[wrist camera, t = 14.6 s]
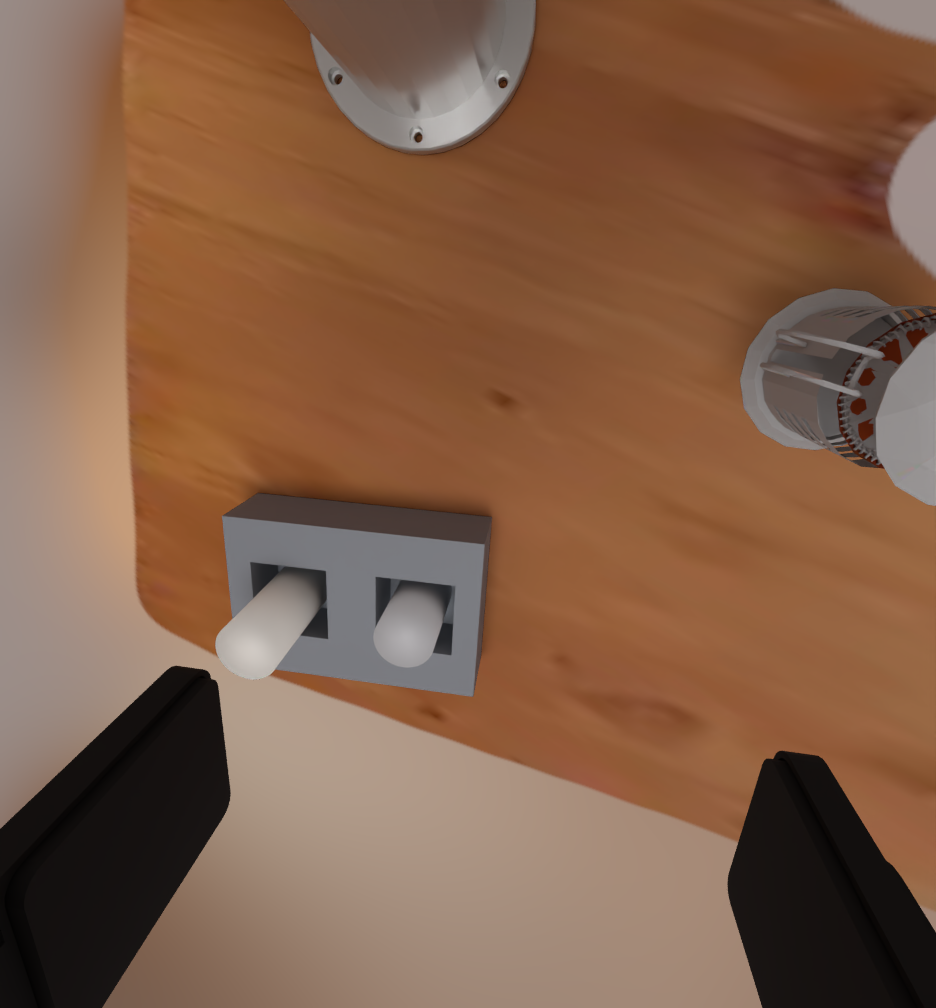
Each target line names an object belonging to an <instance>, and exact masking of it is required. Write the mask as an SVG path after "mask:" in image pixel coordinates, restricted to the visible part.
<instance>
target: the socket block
mask: <svg viewBox="0 0 936 1008" xmlns="http://www.w3.org/2000/svg"><path fill="white" fill-rule="evenodd" d="M222 520H223V530H224V540H225V550H226V559H227V569H228V579H229V589H230V599H231V609H232V619H233V618H234V617H235V616H236V615H237V614H238V613H239V612H240V611H241V610H242V609H243V608H244V607H245V606H246V605H247V604H248V603H249V602H250V601H251V600H252V599H253V598H254V597H255V596H256V595H257V594H258V593H259V592H260V591H261V590H262V589H263V588H264V587H265V586H266V585H267V584H268V583H269V582H270V581H271V580H272V579H273V578H274V577H275V576H276V575H277V574H278V573H279V572H280V571H281V570H282V569H283V568H284V567H285V566H289V567H297V568H306V569H315V570H323V571H326V585H327V600H326V602H325V603H324V604H323V606H322V607H321V608H320V610H319V611H318V612H317V614H316V615H315V616H314V618H313V619H312V620H311V622H310V623H309V624H308V626H307V627H306V628H305V630H304V631H303V632H302V634H301V635H300V636H299V638H298V639H297V640H296V642H295V643H294V644H293V646H292V647H291V648H290V650H289V651H288V652H287V654H286V655H285V656H284V658H283V659H282V660H281V662H280V663H279V664H278V666H277V667H276V669H277V670H284V671H291V672H298V673H306V674H313V675H320V676H327V677H335V678H342V679H349V680H356V681H363V682H371V683H378V684H385V685H392V686H400V687H407V688H414V689H421V690H429V691H436V692H443V693H450V694H458V695H465V696H472V697H473V695H474V690H475V685H476V680H477V674H478V669H479V664H480V659H481V650H482V637H483V624H484V612H485V599H486V586H487V573H488V560H489V548H490V535H491V522H492V517H486V516H476V515H467V514H457V513H447V512H438V511H428V510H418V509H408V508H399V507H389V506H379V505H370V504H360V503H350V502H340V501H331V500H321V499H311V498H302V497H292V496H282V495H272V494H263V493H257V494H256V495H254V496H253V497H251V498H249V499H248V500H246V501H245V502H243V503H242V504H240V505H239V506H237V507H235V508H234V509H232V510H231V511H229V512H228V513H226V514H224V515H223V516H222Z"/></svg>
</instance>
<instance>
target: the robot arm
mask: <svg viewBox="0 0 936 1008" xmlns="http://www.w3.org/2000/svg"><path fill="white" fill-rule="evenodd" d="M284 1H285V3H286V4H287V5H288V6H289V7H290V8H291V10H292V11H293V12H294V13H295V14H296V15H297V17H298V18H299V19H300V20H301V21H302V22H303V24H304V25H305V26H306V27H307V28H308V29H309V31H310V38H311V45H312V48H313V52H314V56H315V60H316V64H317V68H318V70H319V72H320V74H321V77H322V79H323V81H324V84H325V86H326V88H327V90H328V92H329V93H330V95H331V97H332V98H333V100H334V101H335V103H336V104H337V106H338V107H339V109H340V110H341V111H342V112H343V113H344V115H345V116H346V117H347V118H348V119H349V120H350V121H351V122H352V123H353V124H354V125H355V126H356V127H357V128H358V129H359V130H361V131H362V132H363V133H364V134H365V135H366V136H368V137H369V138H371V139H373V140H374V141H376V142H378V143H380V144H381V145H383V146H385V147H387V148H390V149H394V150H397V151H400V152H403V153H410V154H421V155H426V154H434V153H441V152H445V151H448V150H451V149H454V148H456V147H459V146H462V145H464V144H466V143H467V142H469V141H470V140H472V139H473V138H475V137H477V136H478V135H480V134H481V133H482V132H484V131H485V130H486V129H487V128H488V127H489V126H490V125H491V124H492V123H493V122H494V121H495V120H496V119H497V118H498V117H499V116H500V114H501V113H502V112H503V110H504V109H505V108H506V106H507V105H508V104H509V102H510V101H511V100H512V98H513V96H514V94H515V92H516V90H517V88H518V86H519V84H520V82H521V80H522V78H523V76H524V73H525V70H526V67H527V64H528V61H529V58H530V54H531V51H532V44H533V38H534V32H535V25H536V0H284ZM340 77H343V79H342V82H341V83H340V84H338V85H337V80H338V79H339V78H340ZM502 80H506V81H507V82H508V84H507V86H506V87H505V88H500V87H499V83H500V82H501V81H502ZM419 134H421V135H422V136H423V139H422V141H421V142H420V143H417V142H416V140H415V139H416V136H417V135H419ZM229 801H230V784H229V775H228V767H227V759H226V750H225V741H224V733H223V724H222V715H221V707H220V698H219V690H218V684H217V682H216V681H215V680H212V679H211V678H210V674H209V672H208V671H206V670H203V669H195V668H188V667H181V666H173V667H171V668H169V669H168V670H167V671H166V672H164V673H163V674H162V675H161V677H159V678H158V679H157V680H156V681H155V682H154V683H153V684H152V685H151V686H150V687H149V688H148V689H147V690H146V691H145V692H143V694H142V695H140V696H139V697H138V698H137V699H136V700H135V701H134V702H133V703H132V704H131V705H130V706H129V707H128V708H127V709H126V710H125V711H124V712H122V714H120V715H119V716H118V717H117V718H116V719H115V720H114V721H113V722H112V723H111V724H110V725H109V726H108V727H107V728H106V729H105V730H104V731H103V732H102V733H100V734H99V735H98V736H97V737H96V738H95V739H94V740H93V741H92V742H91V743H90V744H89V745H88V746H87V747H86V748H85V749H84V750H83V751H82V752H80V753H79V754H78V755H77V757H75V758H74V759H73V760H72V761H71V762H70V763H69V764H68V765H67V766H66V767H65V768H64V769H63V770H62V771H61V772H60V773H58V774H57V775H56V776H55V777H54V778H53V779H52V780H51V781H50V782H49V783H48V784H47V785H46V786H45V787H44V788H43V789H42V790H41V791H40V792H39V793H38V794H37V795H35V796H34V797H33V798H32V799H31V800H30V801H29V802H28V803H27V804H26V805H25V806H24V807H23V808H22V809H21V810H20V811H19V812H18V813H16V814H15V815H14V816H13V817H12V818H11V819H10V820H9V821H8V822H7V823H6V824H5V825H4V826H3V827H2V828H1V829H0V1008H102V1007H103V1005H104V1004H105V1002H106V1000H107V999H108V997H109V996H110V994H111V993H112V991H113V990H114V988H115V986H116V985H117V983H118V982H119V980H120V979H121V977H122V975H123V974H124V972H125V971H126V969H127V968H128V966H129V964H130V963H131V961H132V960H133V958H134V957H135V955H136V953H137V952H138V950H139V949H140V947H141V946H142V944H143V942H144V941H145V939H146V938H147V936H148V934H149V933H150V931H151V930H152V928H153V927H154V925H155V923H156V922H157V920H158V918H159V917H160V916H161V914H162V912H163V911H164V909H165V908H166V906H167V905H168V903H169V902H170V900H171V898H172V897H173V895H174V894H175V892H176V891H177V889H178V887H179V886H180V884H181V883H182V881H183V879H184V878H185V876H186V875H187V873H188V872H189V870H190V869H191V867H192V865H193V864H194V862H195V861H196V859H197V858H198V856H199V854H200V853H201V851H202V850H203V848H204V847H205V845H206V843H207V842H208V840H209V839H210V837H211V835H212V834H213V832H214V831H215V829H216V828H217V826H218V825H219V823H220V821H221V820H222V818H223V816H224V815H225V813H226V811H227V808H228V805H229ZM728 894H729V899H730V904H731V907H732V910H733V913H734V917H735V920H736V923H737V926H738V930H739V933H740V936H741V940H742V943H743V946H744V949H745V953H746V955H747V958H748V962H749V966H750V969H751V972H752V975H753V979H754V982H755V985H756V988H757V992H758V995H759V998H760V1001H761V1005H762V1008H936V932H935V930H934V929H933V927H932V926H931V924H930V922H929V921H928V919H927V918H926V916H925V914H924V913H923V911H922V909H921V908H920V906H919V905H918V903H917V901H916V900H915V898H914V897H913V895H912V893H911V892H910V890H909V889H908V887H907V885H906V884H905V882H904V880H903V879H902V877H901V876H900V875H899V873H898V872H897V871H896V869H895V868H894V867H893V866H892V865H891V864H890V863H888V862H887V861H886V860H885V858H884V857H883V855H882V854H881V852H880V850H879V849H878V847H877V845H876V844H875V842H874V840H873V839H872V837H871V836H870V834H869V832H868V831H867V829H866V827H865V826H864V824H863V823H862V821H861V819H860V818H859V816H858V814H857V813H856V811H855V809H854V808H853V806H852V805H851V803H850V801H849V800H848V798H847V796H846V795H845V793H844V791H843V790H842V788H841V787H840V785H839V783H838V782H837V780H836V778H835V777H834V775H833V774H832V772H831V770H830V769H829V767H828V765H827V764H826V763H825V761H824V760H823V759H822V758H821V757H819V756H815V755H808V754H801V753H794V752H787V751H779V752H777V753H776V755H775V757H774V759H766V760H765V761H764V762H763V764H762V768H761V771H760V774H759V777H758V781H757V784H756V787H755V790H754V793H753V797H752V800H751V803H750V806H749V810H748V813H747V816H746V819H745V823H744V826H743V829H742V832H741V836H740V839H739V842H738V845H737V849H736V852H735V855H734V858H733V862H732V865H731V868H730V871H729V875H728Z"/></svg>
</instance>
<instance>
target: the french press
mask: <svg viewBox="0 0 936 1008" xmlns="http://www.w3.org/2000/svg"><path fill="white" fill-rule="evenodd" d="M919 307H921V308H919ZM912 308H913V309H920V310H921V311H922V312H923V313H924V314H925V315H926V316H923V317H919V316H918V314H917V313H916V312H915V311H914V310H913V309H912ZM924 308H927V309H924ZM929 309H934V310H936V307H931V306H891V305H889V304H888V303H886V302H884V301H883V300H881V299H879V298H878V297H876V296H874V295H873V294H871V293H869V292H867V291H856V290H846V289H836V288H833V289H829V290H826V291H822V292H819V293H815V294H812V295H808V296H805V297H801V298H798V299H797V300H795V301H794V302H793V303H791V304H790V305H788V306H787V307H786V308H784V309H783V310H781V311H780V312H779V313H777V314H776V315H774V316H773V317H772V318H770V319H769V320H768V321H767V323H766V324H765V325H764V327H763V328H762V330H761V331H760V332H759V334H758V335H757V337H756V338H755V339H754V341H753V342H752V344H751V345H750V346H749V348H748V351H747V355H746V358H745V362H744V366H743V370H742V373H741V377H740V383H741V390H742V397H743V403H744V409H745V410H746V412H747V413H748V415H749V416H750V418H751V419H752V421H753V422H754V424H755V425H756V426H757V428H758V429H759V431H760V432H761V433H763V434H765V435H767V436H768V437H770V438H772V439H773V440H775V441H777V442H779V443H780V444H782V445H784V446H787V447H795V448H803V449H811V450H818V449H823V448H825V449H827V450H830V451H832V452H833V453H835V454H837V455H839V456H841V457H843V458H845V457H861V458H863V459H860V460H852V461H851V460H849V459H847V458H845V459H847V460H849V461H851V462H853V463H855V464H857V465H859V466H862V467H874V468H884V469H885V470H886V471H887V473H888V474H889V476H890V478H891V479H892V481H893V482H894V484H895V486H897V487H899V488H900V489H902V490H904V491H905V492H907V493H909V494H910V495H912V496H914V497H915V498H917V499H919V500H921V501H922V502H924V503H926V504H927V505H934V506H936V313H934V314H933V313H932V312H931V311H930V310H929ZM899 310H905V311H906V312H907V313H909V314H910V315H911V316H912V317H913V318H914V319H912V320H908V319H907V318H906V317H905V316H904V315H903V314H902V313H901V312H900V311H899ZM846 444H848V445H849V447H840V448H834V447H833V446H843V445H846ZM827 447H828V448H829V449H828V448H827ZM850 450H852V451H853V452H854V453H846V454H839V452H838V451H843V452H844V451H850Z"/></svg>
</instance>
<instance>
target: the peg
mask: <svg viewBox="0 0 936 1008" xmlns="http://www.w3.org/2000/svg"><path fill="white" fill-rule="evenodd" d="M326 600H327V585H326V571H323V570H315V569H306V568H297V567H289V566H285V567H284V568H283V569H282V570H281V571H280V572H279V573H278V574H277V575H276V576H275V577H274V578H273V579H272V580H271V581H270V582H269V583H268V584H267V585H266V586H265V587H264V588H263V589H262V590H261V591H260V592H259V593H258V594H257V595H256V596H255V597H254V598H253V599H252V600H251V601H250V602H249V603H248V604H247V605H246V606H245V607H244V608H243V609H242V610H241V611H240V612H239V613H238V614H237V615H236V616H235V617H234V618H233V619H232V620H231V621H230V622H229V623H228V624H227V625H226V626H225V627H224V628H223V629H222V630H221V631H220V632H219V634H218V636H217V638H216V652H217V655H218V657H219V659H220V661H221V662H222V663H223V665H224V666H225V667H226V668H227V669H228V670H230V671H231V672H232V673H234V674H236V675H238V676H240V677H243V678H246V679H262V678H265V677H267V676H269V675H270V674H271V673H272V672H273V671H274V670H275V669H276V667H277V666H278V664H279V663H280V662H281V660H282V659H283V658H284V656H285V655H286V654H287V652H288V651H289V650H290V648H291V647H292V646H293V644H294V643H295V642H296V640H297V639H298V638H299V636H300V635H301V634H302V632H303V631H304V630H305V628H306V627H307V626H308V624H309V623H310V622H311V620H312V619H313V618H314V616H315V615H316V614H317V612H318V611H319V610H320V608H321V607H322V606H323V604H324V603H325V602H326Z"/></svg>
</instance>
